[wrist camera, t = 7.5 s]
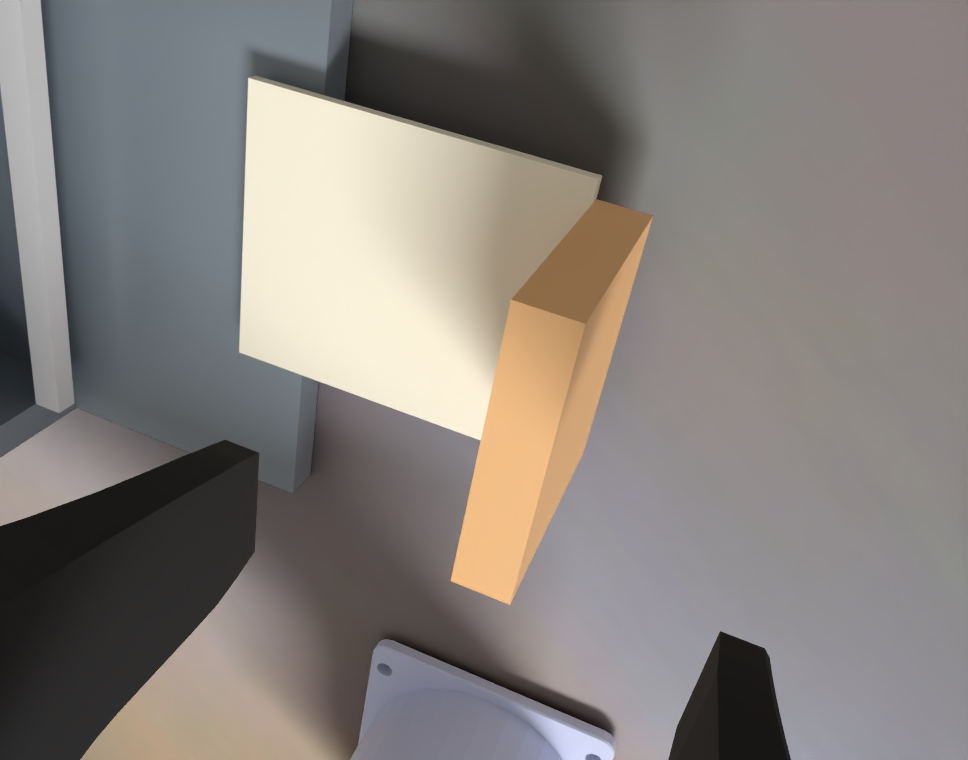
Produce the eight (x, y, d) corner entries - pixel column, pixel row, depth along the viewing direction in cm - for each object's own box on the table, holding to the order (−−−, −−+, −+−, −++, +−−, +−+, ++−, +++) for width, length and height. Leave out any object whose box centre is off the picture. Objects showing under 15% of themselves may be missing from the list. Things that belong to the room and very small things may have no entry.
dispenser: (366, -143, 18) (134, -164, 12) (310, 475, 26) (158, 637, 20) (-136, -255, 21) (-524, -316, 15) (-42, 337, 29) (-264, 446, 23)
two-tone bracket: (660, 192, 18) (593, 294, 13) (579, 468, 21) (505, 623, 17) (255, 75, 19) (74, 129, 15) (245, 347, 23) (97, 457, 19)
